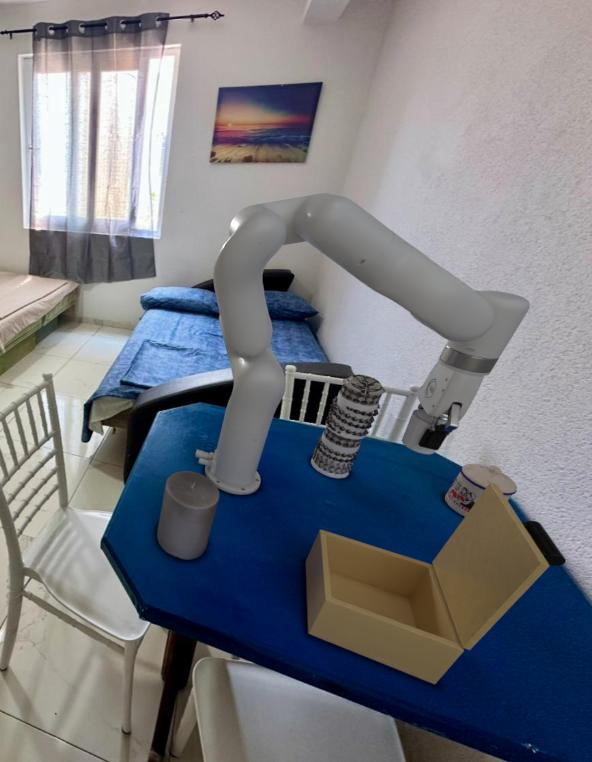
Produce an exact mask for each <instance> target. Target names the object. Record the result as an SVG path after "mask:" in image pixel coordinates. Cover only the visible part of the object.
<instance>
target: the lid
mask: <svg viewBox="0 0 592 762" xmlns="http://www.w3.org/2000/svg"><path fill="white" fill-rule="evenodd" d="M566 562H567V560H566V558H565V557H564V555H563V554H562V552H561V551H560V549H559V547H558V546H557V545H556V543H555V542H554V541H553V539H552V537H550V535H549V534H548V532H547V531H546V529H545V528H544V526H543V525H542V523H540V522H539V521H537V520H527V521H521V519H520V518H519V516H518V515H517V513H516V512H515V510H514V508H513V507H512V505H511V504H510V502H509V500H508V501H507V499H506V498H505V496H504V495H503V493H502V492H501V490H500V488H499V487H498V485H497V484H494V483H489V485H488V486H487V488H486V489H485V490H484V492H483V493H482V494H481V496H480V497H479V499H478V500H477V501H476V503H475V504H474V505H473V507H472V508H471V510H470V511H469V512H468V514H467V515H466V516H464V518H463V519H462V521H461V522H460V524H459V525H458V526H457V528H456V529H455V530H454V532H452V534H451V536H450V537H449V539H447V541H446V542H445V544H444V545H443V546H442V548H441V549H440V551H439V552H438V553H437V555H436V556H435V558H434V559H433V561H432V562H431V563H432V565H433V566H434V569H435V572H436V574H437V577H438V580H439V583H440V586H441V588H442V591H443V594H444V597H445V600H446V602H447V605H448V608H449V611H450V614H451V616H452V619H453V622H454V625H455V628H456V630H457V633H458V636H459V639H460V642H461V644H462V647H463V649H464V650H467V651H471V650H472V649H473V648H474V647H475V645H477V643H478V642H479V641H480V640H482V638H483V637H484V636H485V635H486V634H487V633H488V632H489V631H490V630H491V629H492V628H493V627H494V626H495V624H496V623H497V622H498V621H499V620H500V619H501V618H502V617H504V615H505V614H506V613H507V612H508V611H509V610H510V609H511V607H513V606H514V604H515V603H516V602H518V600H519V599H520V598H522V596H523V595H524V594H525V593H526V592H527V591H528V590H529V589H530V587H532V585H533V584H534V583H535V582H536V581H537V580H538V579H539V578H541V576H542V575H543V574H544V573H545V572H546V571H547V570H548V569H549V567H550V566H551V567H552V566H553V567H558V566H563V565H564V564H565V563H566Z"/></svg>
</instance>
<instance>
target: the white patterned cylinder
mask: <svg viewBox="0 0 592 762" xmlns="http://www.w3.org/2000/svg"><path fill="white" fill-rule="evenodd" d="M385 392H386V389H385V388H384V387H383V386H382V383H381V382H380V381H379V380H378V379H376V378H374V377H372V376H369V375H365V374H352V375H351V376H349V377H345V378H343V379H342V386H341V389H340V390H339V391H338V394H337V396H335V397H334V398H333V399H332V402H331V404H330V408H329V412H328V413H327V417H326V418H325V419H326V420H325V426H326V427H325V430H324V431H323V433H322V435H321V436H320V437H319V438H318V442H317V445H316V447H315V448H314V451H313V453H312V457H311V460H310V464H311V466H312V467H313V468H314V470H316V471H317V472H319V473H320V474H322V475H323V476H326V477H329V478H333V479H345V478H347V477H348V476H349V475H350V471H352V466H354V465H355V464H354V462H355V460H357V456H358V455H359V451H360V450H359V449H360V447H361V442H362V440H363V439H364V438H366V437H367V435H368V434H369V431H368V430H370V429H371V428H372V427H373V425H372V424H373V423H374V422H375V420H376V419H375V418H374V417H377V415H378V416H379V414H380V413H379V410H381V405H380V400H381V398H382V395H384V394H385Z"/></svg>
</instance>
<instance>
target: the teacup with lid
mask: <svg viewBox="0 0 592 762" xmlns="http://www.w3.org/2000/svg"><path fill="white" fill-rule="evenodd" d="M459 470H460V472H459V473H458V475H457V477H456V478H455V479H454V481H453V483H452V484H451V487H449V489H448V491H447V492H446V494H445V497H444V500H445V502H446V504H447V505H448V507H450V508H451V509H452V510H453V511H454V512H456V513H458V514H459V515H461V516H463V517H465V516H466V515H467V514H468V512H469V511H470V510H471V508H472V507H473V505H474V504H475V503H476V501H477V500H478V499H479V497H480V496H481V494H482V493H483V492H484V490H485V489H486V488H487V486H488V485H489V483H494V484H497V485H498V487H499V488H500V490H501V492H502V493H503V495H504V496H505V498H506V499H507V501H508V502H509V500H510V499H511V498H512V496H513V495H515V494H516V493H517V492H518V491H517V490H518V486H517V484H516V482H515V481H514V480H513V479H512V478H511V477H510V476H508V475H507V474H505V473H504V472H502V469H501V468H500V467H499V466H497V465H483V464H478V463H467V464H464V465H463V466H461V467H460V469H459Z"/></svg>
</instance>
